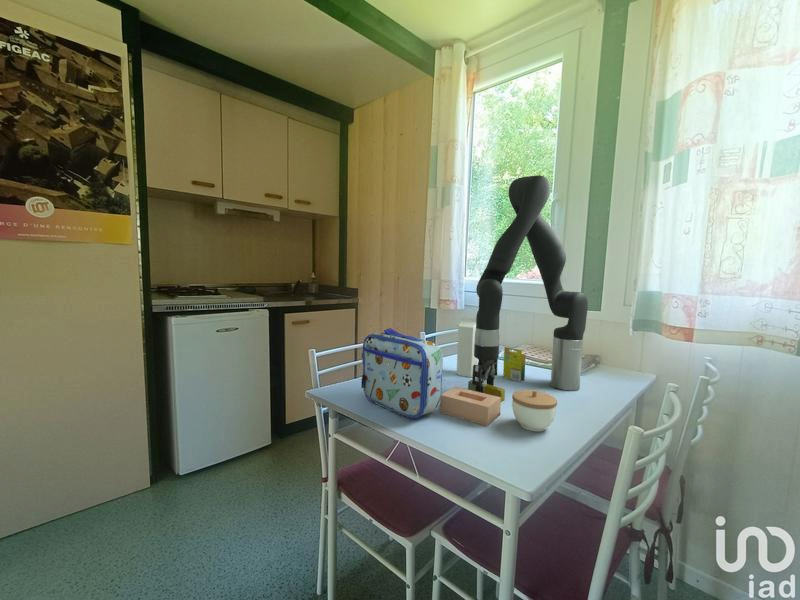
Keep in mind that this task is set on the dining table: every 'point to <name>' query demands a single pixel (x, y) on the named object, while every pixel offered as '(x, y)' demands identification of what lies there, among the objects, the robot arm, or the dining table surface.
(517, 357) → the crayon box
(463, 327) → the milk
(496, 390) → the medication box
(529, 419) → the lidded jar
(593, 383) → the dining table surface
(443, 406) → the beige slotted holder
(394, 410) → the lunch box
